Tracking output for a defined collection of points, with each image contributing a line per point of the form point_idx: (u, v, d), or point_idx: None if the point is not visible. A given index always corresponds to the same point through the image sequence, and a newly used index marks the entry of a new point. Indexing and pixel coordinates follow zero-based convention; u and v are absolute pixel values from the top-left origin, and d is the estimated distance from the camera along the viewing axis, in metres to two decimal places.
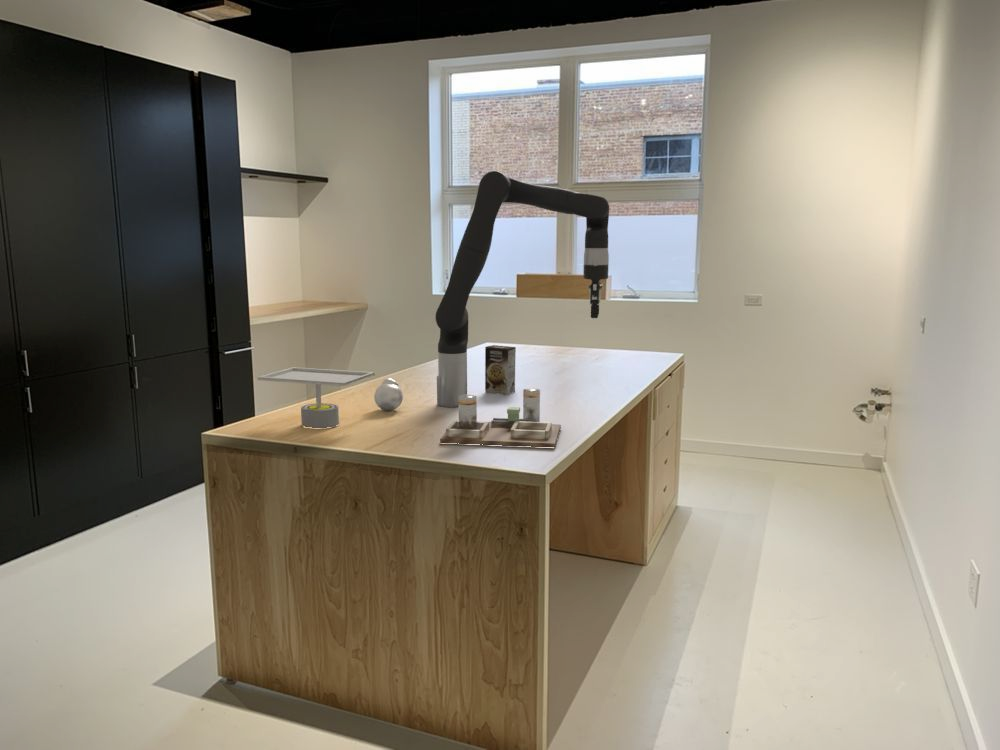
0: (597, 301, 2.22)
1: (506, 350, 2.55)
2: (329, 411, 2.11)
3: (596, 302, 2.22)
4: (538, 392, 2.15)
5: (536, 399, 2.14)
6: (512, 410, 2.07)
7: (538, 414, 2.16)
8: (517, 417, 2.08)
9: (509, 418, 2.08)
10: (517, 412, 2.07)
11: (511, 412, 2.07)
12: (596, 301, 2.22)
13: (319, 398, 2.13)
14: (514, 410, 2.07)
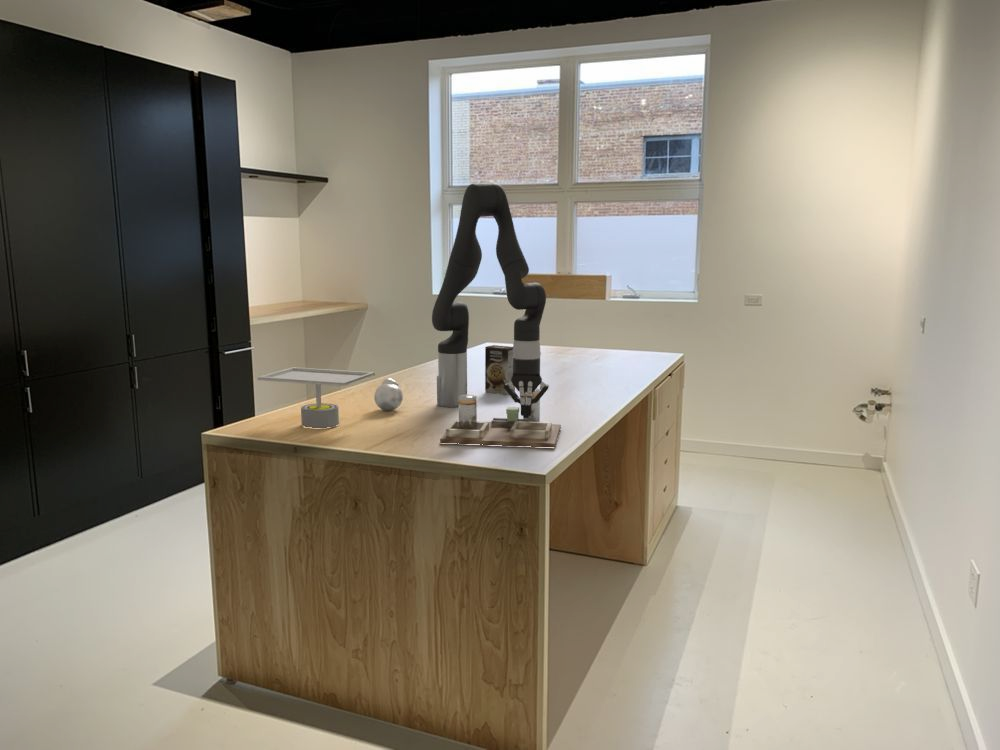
0: None
1: (506, 350, 2.55)
2: (329, 411, 2.11)
3: None
4: (538, 392, 2.15)
5: None
6: (511, 410, 2.07)
7: (538, 414, 2.16)
8: (516, 417, 2.08)
9: (508, 418, 2.08)
10: (516, 412, 2.07)
11: (510, 412, 2.07)
12: None
13: (319, 398, 2.13)
14: (513, 410, 2.07)
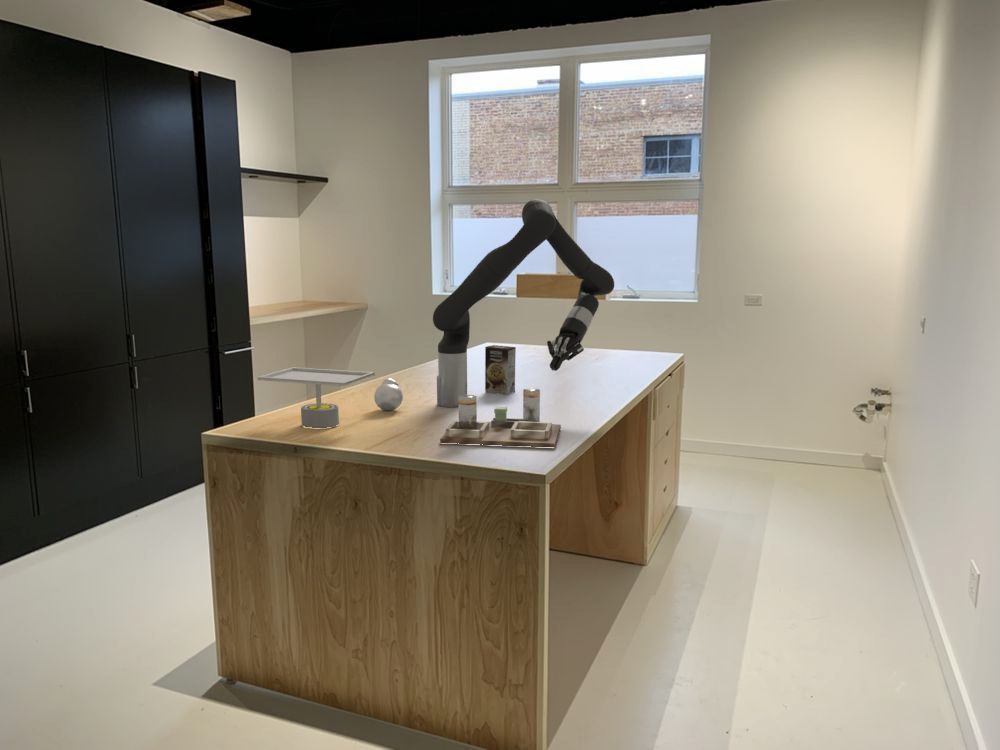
0: None
1: (506, 350, 2.55)
2: (329, 411, 2.11)
3: (550, 354, 2.26)
4: (538, 392, 2.15)
5: (536, 399, 2.14)
6: (499, 410, 2.07)
7: (538, 414, 2.16)
8: (504, 417, 2.08)
9: (496, 418, 2.09)
10: (504, 412, 2.07)
11: (498, 412, 2.08)
12: None
13: (319, 398, 2.13)
14: (501, 410, 2.07)
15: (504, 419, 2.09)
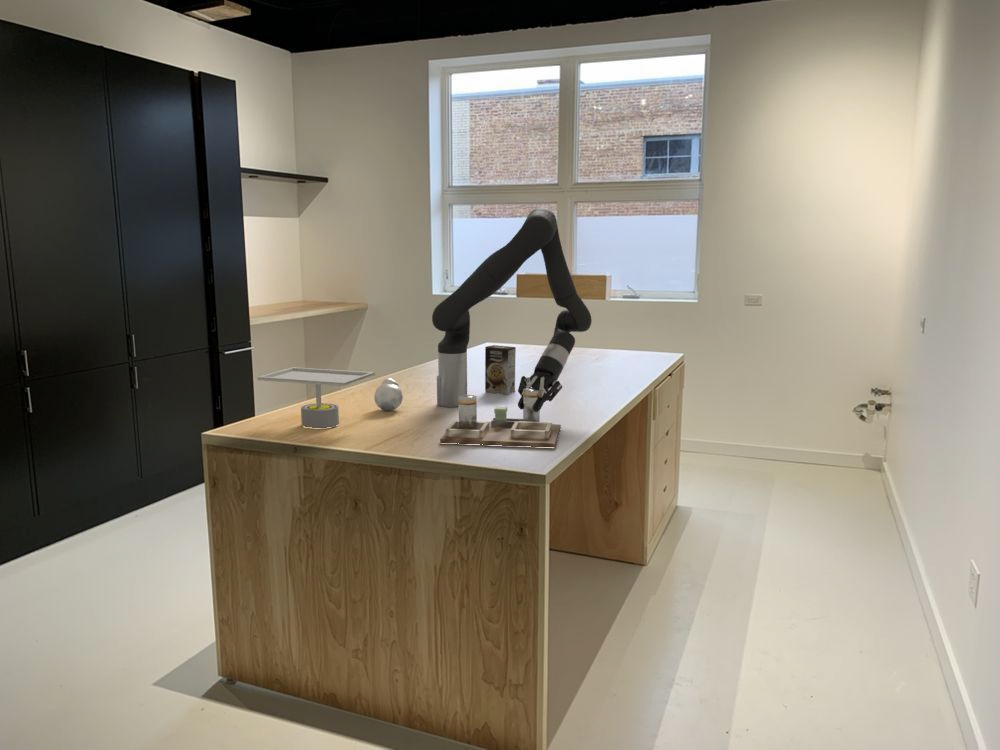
0: None
1: (506, 350, 2.55)
2: (329, 411, 2.11)
3: None
4: (538, 392, 2.15)
5: (536, 399, 2.14)
6: (499, 410, 2.07)
7: (538, 414, 2.16)
8: (504, 417, 2.08)
9: (496, 418, 2.09)
10: (504, 412, 2.07)
11: (498, 412, 2.08)
12: None
13: (319, 398, 2.13)
14: (501, 410, 2.07)
15: (504, 419, 2.09)
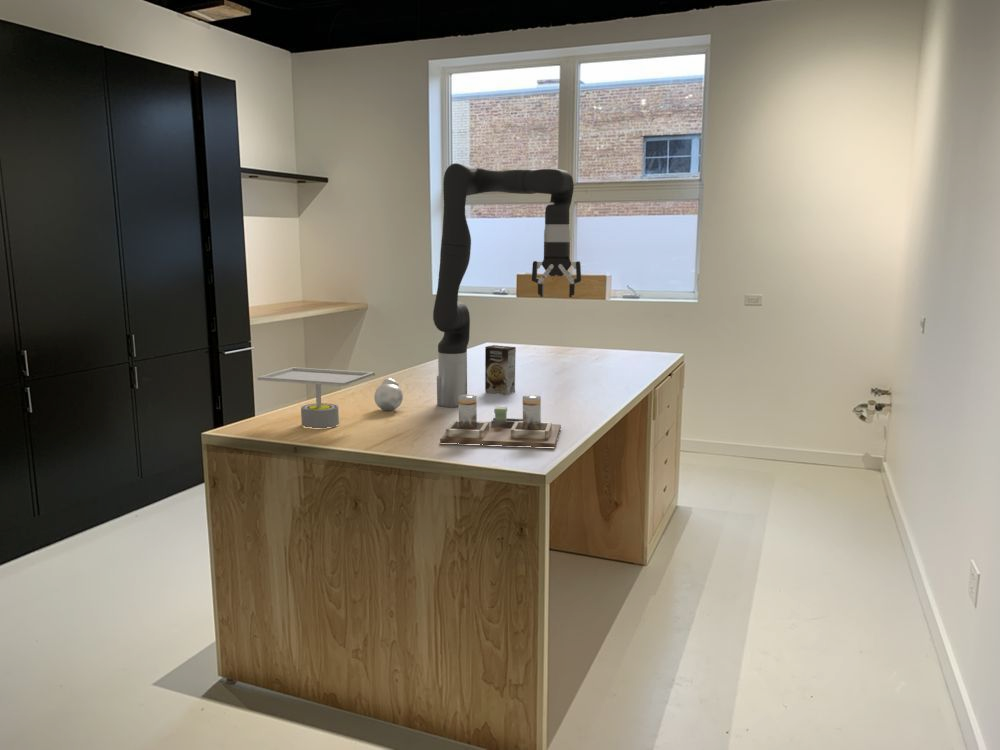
0: None
1: (506, 350, 2.55)
2: (329, 411, 2.11)
3: None
4: (539, 399, 1.98)
5: (537, 407, 1.97)
6: (499, 410, 2.07)
7: (539, 423, 1.99)
8: (504, 417, 2.08)
9: (496, 418, 2.09)
10: (504, 412, 2.07)
11: (498, 412, 2.08)
12: None
13: (319, 398, 2.13)
14: (501, 410, 2.07)
15: (504, 419, 2.09)
